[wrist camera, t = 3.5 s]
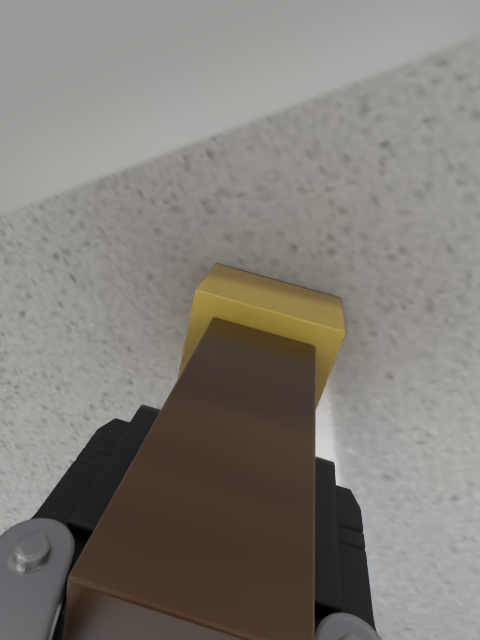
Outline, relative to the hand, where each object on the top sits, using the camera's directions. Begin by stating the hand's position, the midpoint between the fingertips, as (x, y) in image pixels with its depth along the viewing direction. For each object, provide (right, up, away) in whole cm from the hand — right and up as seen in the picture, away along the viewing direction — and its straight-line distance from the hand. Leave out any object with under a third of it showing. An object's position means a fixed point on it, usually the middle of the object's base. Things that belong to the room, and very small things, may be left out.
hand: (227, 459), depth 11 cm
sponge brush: (+1, +3, +6) cm, 7 cm away
